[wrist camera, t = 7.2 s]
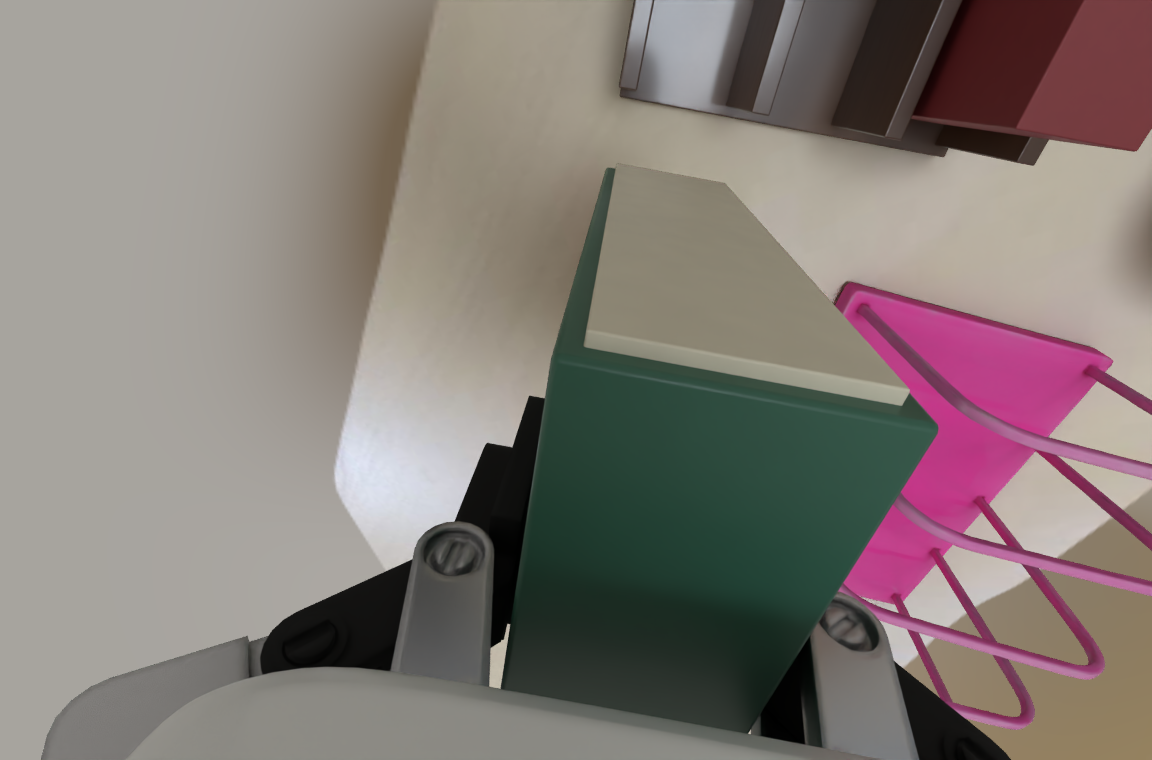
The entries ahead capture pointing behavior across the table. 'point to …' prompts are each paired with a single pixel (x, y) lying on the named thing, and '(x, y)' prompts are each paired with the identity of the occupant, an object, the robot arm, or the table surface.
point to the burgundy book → (1046, 71)
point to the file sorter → (980, 467)
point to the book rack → (806, 68)
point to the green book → (697, 462)
